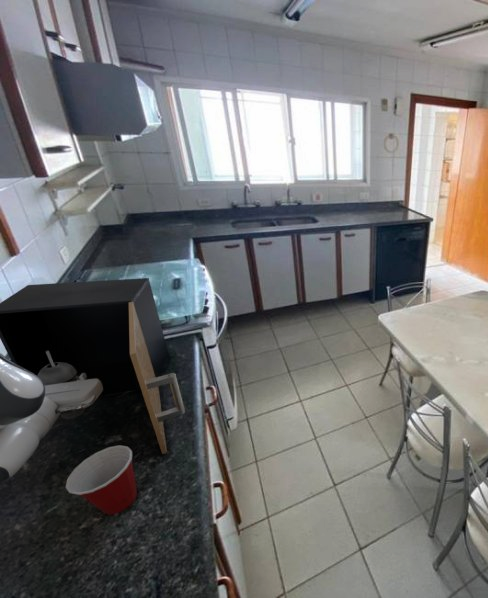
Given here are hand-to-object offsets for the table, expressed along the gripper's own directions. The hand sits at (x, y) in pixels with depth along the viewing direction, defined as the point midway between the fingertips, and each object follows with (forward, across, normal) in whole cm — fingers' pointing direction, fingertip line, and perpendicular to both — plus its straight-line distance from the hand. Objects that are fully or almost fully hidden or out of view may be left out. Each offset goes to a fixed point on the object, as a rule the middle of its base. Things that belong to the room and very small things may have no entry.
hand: (60, 378), depth 83 cm
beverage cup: (-1, 0, +11) cm, 11 cm away
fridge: (+21, 0, +17) cm, 27 cm away
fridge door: (-2, -22, +16) cm, 27 cm away
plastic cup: (-28, -16, +17) cm, 37 cm away
